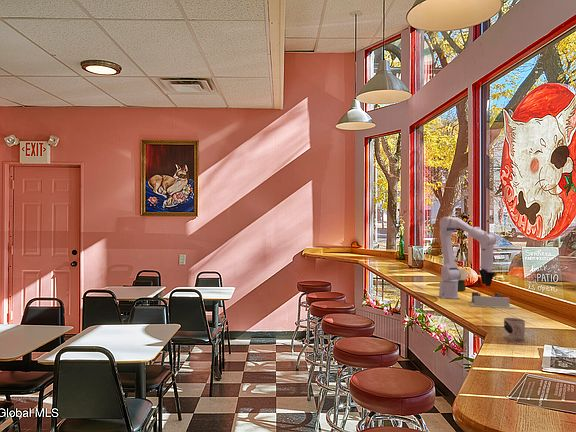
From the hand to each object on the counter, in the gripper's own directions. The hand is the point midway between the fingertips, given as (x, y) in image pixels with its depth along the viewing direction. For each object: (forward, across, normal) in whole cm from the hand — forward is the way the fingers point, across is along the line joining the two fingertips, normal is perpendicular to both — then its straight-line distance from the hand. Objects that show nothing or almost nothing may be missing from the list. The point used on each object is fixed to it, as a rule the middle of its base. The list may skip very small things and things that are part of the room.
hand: (486, 285), depth 235 cm
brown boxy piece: (+10, +4, +4) cm, 11 cm away
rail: (+9, -4, -2) cm, 10 cm away
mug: (+10, -72, +5) cm, 73 cm away
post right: (+10, +4, -7) cm, 13 cm away
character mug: (+10, +47, +5) cm, 49 cm away
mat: (+10, -4, -2) cm, 11 cm away
